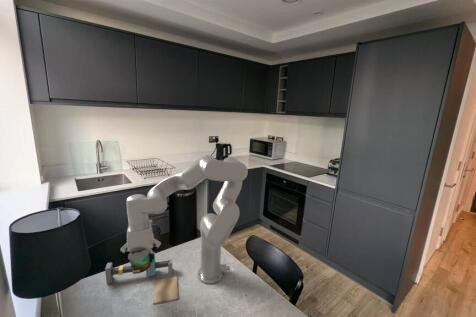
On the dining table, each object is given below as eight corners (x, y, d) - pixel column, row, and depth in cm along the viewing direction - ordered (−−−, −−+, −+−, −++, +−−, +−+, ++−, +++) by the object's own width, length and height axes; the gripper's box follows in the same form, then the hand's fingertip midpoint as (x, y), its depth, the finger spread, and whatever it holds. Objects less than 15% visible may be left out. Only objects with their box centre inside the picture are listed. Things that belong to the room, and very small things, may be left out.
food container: (144, 277, 93) (141, 256, 90) (130, 276, 94) (127, 255, 91) (159, 257, 104) (157, 238, 102) (147, 256, 105) (144, 237, 103)
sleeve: (155, 267, 115) (155, 249, 112) (155, 275, 109) (154, 256, 107) (147, 268, 113) (146, 250, 111) (146, 276, 108) (145, 258, 106)
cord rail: (172, 268, 116) (172, 254, 115) (172, 273, 113) (172, 259, 111) (108, 277, 108) (107, 263, 106) (106, 284, 104) (105, 268, 103)
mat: (177, 277, 110) (176, 276, 110) (178, 299, 98) (178, 298, 98) (154, 281, 107) (154, 280, 107) (153, 304, 95) (153, 303, 95)
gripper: (161, 217, 100) (164, 253, 104) (117, 222, 95) (122, 260, 99) (160, 226, 93) (163, 264, 97) (113, 232, 88) (118, 272, 92)
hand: (142, 261), depth 98 cm, fingers closed on food container, 6 cm apart
